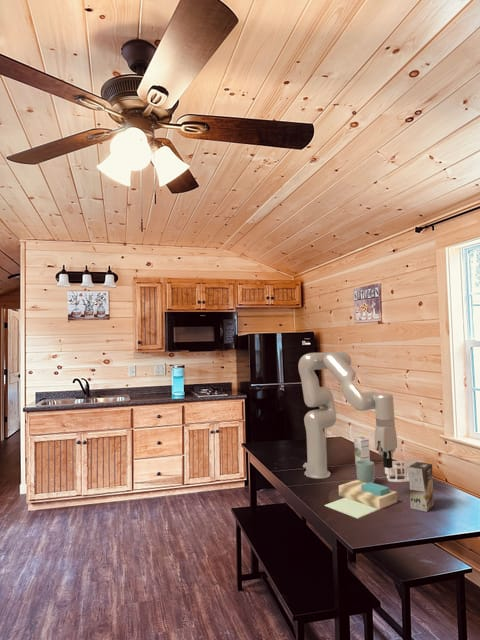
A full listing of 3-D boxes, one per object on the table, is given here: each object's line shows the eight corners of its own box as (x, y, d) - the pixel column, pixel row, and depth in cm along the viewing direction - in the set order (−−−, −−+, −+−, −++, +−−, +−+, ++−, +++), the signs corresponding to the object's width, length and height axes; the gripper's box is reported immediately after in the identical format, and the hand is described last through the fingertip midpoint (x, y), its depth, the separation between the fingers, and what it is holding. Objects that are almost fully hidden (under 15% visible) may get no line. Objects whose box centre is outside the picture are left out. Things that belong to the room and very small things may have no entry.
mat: (324, 506, 169) (324, 505, 169) (344, 498, 176) (344, 497, 176) (357, 518, 156) (357, 517, 156) (378, 510, 163) (378, 509, 163)
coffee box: (427, 512, 160) (425, 469, 161) (410, 508, 164) (408, 466, 165) (434, 505, 167) (432, 463, 168) (417, 501, 171) (415, 461, 172)
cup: (363, 488, 188) (362, 465, 189) (353, 482, 195) (353, 460, 196) (378, 486, 190) (377, 463, 191) (368, 481, 198) (367, 459, 198)
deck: (338, 495, 180) (338, 485, 180) (356, 489, 187) (356, 479, 187) (379, 509, 164) (379, 499, 164) (397, 502, 171) (396, 491, 171)
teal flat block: (361, 490, 174) (361, 485, 174) (370, 486, 178) (370, 482, 178) (380, 496, 167) (380, 491, 167) (389, 492, 171) (389, 487, 171)
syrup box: (370, 466, 220) (369, 438, 221) (361, 468, 218) (360, 439, 219) (363, 463, 225) (362, 436, 226) (354, 465, 223) (353, 437, 224)
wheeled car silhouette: (418, 473, 208) (417, 458, 209) (430, 480, 197) (430, 464, 198) (379, 475, 206) (379, 460, 206) (390, 482, 195) (389, 466, 195)
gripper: (387, 419, 187) (390, 462, 185) (367, 424, 178) (369, 469, 176) (403, 421, 181) (406, 465, 179) (382, 426, 172) (385, 472, 170)
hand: (388, 467), depth 178 cm, fingers closed
